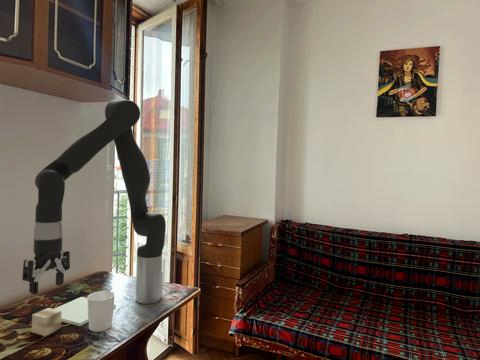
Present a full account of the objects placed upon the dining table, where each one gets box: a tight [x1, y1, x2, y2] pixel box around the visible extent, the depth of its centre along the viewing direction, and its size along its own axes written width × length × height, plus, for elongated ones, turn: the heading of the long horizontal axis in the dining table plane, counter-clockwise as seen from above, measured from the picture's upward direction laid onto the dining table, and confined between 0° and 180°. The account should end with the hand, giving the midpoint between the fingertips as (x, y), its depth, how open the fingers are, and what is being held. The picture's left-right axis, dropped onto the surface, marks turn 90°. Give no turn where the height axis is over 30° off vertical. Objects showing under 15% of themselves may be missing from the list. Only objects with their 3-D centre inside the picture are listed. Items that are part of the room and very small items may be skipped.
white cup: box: [86, 290, 115, 333], centre depth 107 cm, size 8×8×10 cm
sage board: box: [54, 296, 117, 327], centre depth 118 cm, size 16×16×1 cm
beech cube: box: [31, 307, 62, 337], centre depth 104 cm, size 6×6×6 cm
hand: (47, 289), depth 103 cm, fingers open, 8 cm apart
